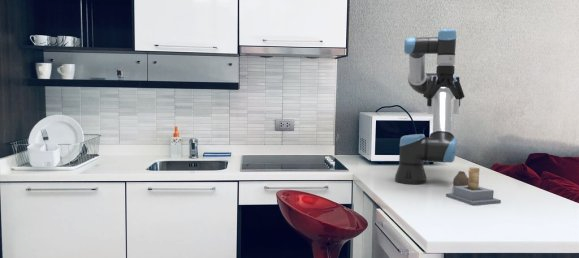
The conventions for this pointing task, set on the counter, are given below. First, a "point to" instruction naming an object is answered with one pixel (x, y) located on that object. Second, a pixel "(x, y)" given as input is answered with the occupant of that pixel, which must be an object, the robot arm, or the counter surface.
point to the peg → (473, 178)
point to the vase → (460, 179)
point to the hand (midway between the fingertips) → (443, 113)
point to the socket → (473, 195)
